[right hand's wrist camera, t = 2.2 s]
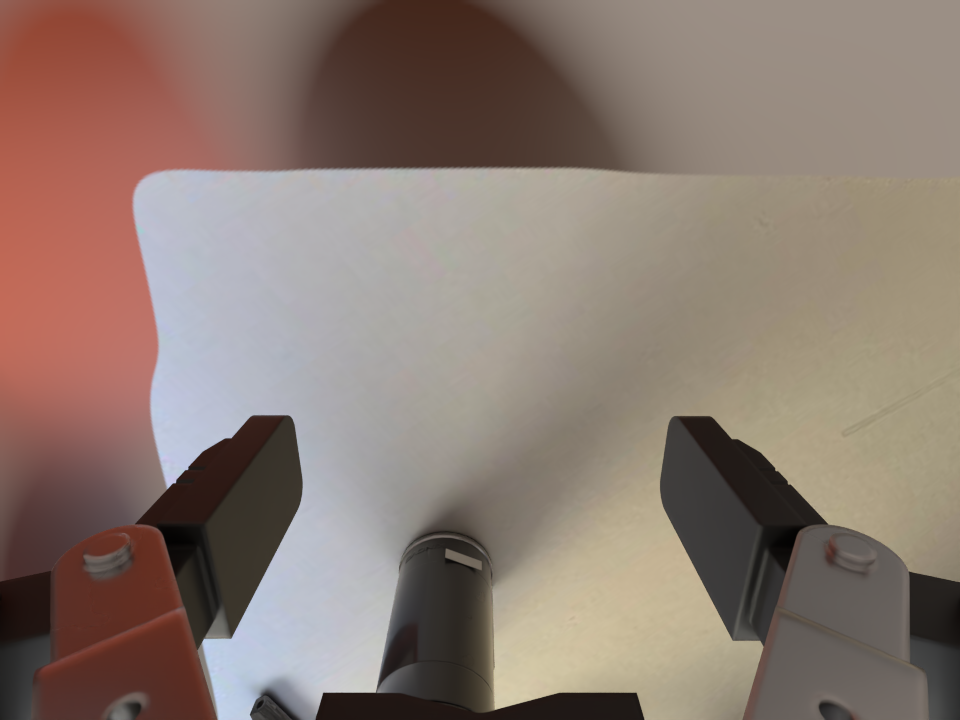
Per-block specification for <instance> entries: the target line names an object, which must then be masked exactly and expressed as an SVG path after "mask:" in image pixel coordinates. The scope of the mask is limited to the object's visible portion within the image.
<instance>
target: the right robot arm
mask: <svg viewBox="0 0 960 720" xmlns="http://www.w3.org/2000/svg"><path fill="white" fill-rule="evenodd" d="M188 468H189V469H188V470H185V471H184V472H183V473H182V475H181V476H180V477H179V478H178V479H177V480H176V483H173V484H172V485H171V486H170V487H169V488H168V489H167V491H166V492H165V493H164V494H163V495H162V496H161V497H160V498H159V499H158V500H157V501H156V502H155V503H154V504H153V505H152V507H151V508H150V509H149V510H148V511H147V512H146V513H145V514H144V515H143V516H142V517H141V518H140V519H139V520H138V521H137V523H136V524H135V525H126V526H120V527H116V528H112V529H109V530H106V531H103V532H100V533H98V534H95V535H93V536H91V537H89V538H87V539H85V540H83V541H81V542H80V543H78V544H77V545H75V546H74V547H72V548H71V549H70V550H68V551H67V552H66V553H65V554H64V555H63V556H62V557H61V558H60V559H59V560H58V561H57V562H56V564H55V565H54V567H53V569H52V571H49V572H44V573H39V574H34V575H30V576H25V577H20V578H15V579H11V580H6V581H1V582H0V720H217V717H216V713H215V710H214V707H213V703H212V700H211V696H210V693H209V689H208V686H207V683H206V679H205V676H204V672H203V669H202V666H201V662H200V659H199V655H198V652H197V650H198V648H199V647H200V645H201V643H202V641H203V640H204V639H231V638H232V636H233V634H234V632H235V630H236V628H237V626H238V624H239V623H240V621H241V619H242V617H243V615H244V613H245V611H246V609H247V607H248V605H249V603H250V601H251V599H252V597H253V595H254V593H255V591H256V590H257V588H258V586H259V584H260V582H261V580H262V578H263V576H264V574H265V572H266V570H267V568H268V566H269V564H270V562H271V560H272V559H273V557H274V555H275V553H276V551H277V549H278V547H279V545H280V543H281V541H282V539H283V537H284V535H285V533H286V531H287V529H288V527H289V526H290V524H291V522H292V520H293V518H294V516H295V514H296V512H297V510H298V508H299V505H300V502H301V497H302V488H303V482H302V473H301V466H300V459H299V452H298V445H297V439H296V432H295V426H294V422H293V419H292V418H291V417H290V416H288V415H254V416H251V417H250V418H249V419H248V420H247V421H246V422H245V424H244V425H243V426H242V427H241V428H240V429H239V430H238V432H237V433H236V434H235V435H234V436H233V437H232V438H225V439H224V440H222V441H220V442H218V443H217V444H215V445H213V446H212V447H210V448H208V449H207V450H205V451H203V452H202V453H201V454H200V455H199V456H198V457H197V459H196V460H195V461H194V462H193V463H192V464H191V465H190V466H189V467H188ZM660 493H661V499H662V504H663V507H664V509H665V511H666V513H667V515H668V517H669V519H670V521H671V523H672V525H673V527H674V529H675V531H676V533H677V534H678V536H679V538H680V540H681V542H682V544H683V546H684V548H685V550H686V552H687V554H688V556H689V557H690V559H691V561H692V563H693V565H694V567H695V569H696V571H697V573H698V575H699V577H700V579H701V580H702V582H703V584H704V586H705V588H706V590H707V592H708V594H709V596H710V598H711V600H712V602H713V603H714V605H715V607H716V609H717V611H718V613H719V615H720V617H721V619H722V621H723V623H724V625H725V626H726V628H727V630H728V632H729V634H730V636H731V638H732V640H733V641H761V643H762V644H763V646H764V648H763V652H762V655H761V659H760V662H759V665H758V669H757V672H756V676H755V679H754V683H753V686H752V689H751V693H750V696H749V700H748V703H747V707H746V710H745V713H744V717H743V720H960V582H955V581H950V580H946V579H941V578H936V577H931V576H927V575H922V574H917V573H912V572H909V571H908V569H907V567H906V565H905V564H904V562H903V561H902V560H901V559H900V558H899V557H898V556H897V555H896V554H895V553H894V552H893V551H892V550H890V549H889V548H888V547H886V546H885V545H883V544H882V543H880V542H879V541H877V540H875V539H873V538H871V537H869V536H867V535H865V534H862V533H860V532H857V531H854V530H851V529H848V528H844V527H840V526H835V525H828V523H827V522H826V521H825V520H824V519H823V518H822V517H821V516H820V515H819V514H818V513H817V512H816V511H815V510H814V509H813V508H812V507H811V505H810V504H809V503H808V502H807V501H806V500H805V499H804V498H803V497H802V496H801V495H800V494H799V493H798V492H797V491H796V490H795V489H794V488H793V486H792V485H788V481H787V480H786V479H785V478H784V477H783V476H782V475H781V474H780V473H779V472H778V471H775V467H774V466H773V465H772V464H771V463H770V462H769V461H768V460H767V459H766V458H765V457H764V456H763V455H762V454H761V453H760V452H759V451H757V450H755V449H753V448H752V447H750V446H748V445H747V444H745V443H743V442H742V441H740V440H738V439H731V438H730V437H729V435H728V434H727V433H726V432H725V431H724V430H723V429H722V428H721V426H720V425H719V424H718V423H717V422H716V421H715V420H714V419H713V418H712V417H710V416H674V417H672V419H671V420H670V422H669V426H668V431H667V438H666V445H665V452H664V458H663V465H662V472H661V479H660ZM491 580H492V564H491V560H490V558H489V555H488V554H487V552H486V551H485V549H484V548H483V547H482V546H481V545H480V544H479V543H477V542H476V541H474V540H473V539H471V538H469V537H467V536H464V535H461V534H457V533H451V532H439V533H433V534H429V535H426V536H423V537H421V538H419V539H417V540H416V541H414V542H413V543H412V544H411V545H410V546H409V547H408V548H407V549H406V550H405V552H404V554H403V556H402V558H401V562H400V567H399V577H398V583H397V588H396V592H395V597H394V602H393V608H392V613H391V618H390V623H389V628H388V633H387V638H386V644H385V649H384V654H383V659H382V664H381V669H380V675H379V680H378V685H377V690H376V693H323V696H322V699H321V703H320V706H319V710H318V713H317V716H316V720H644V716H643V713H642V710H641V706H640V703H639V699H638V696H637V693H557V694H553V695H549V696H546V697H542V698H538V699H534V700H531V701H527V702H523V703H519V704H516V705H512V706H508V707H504V708H501V709H497V710H495V702H494V634H493V599H492V587H491Z"/></svg>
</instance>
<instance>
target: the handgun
mask: <svg viewBox="0 0 960 720" xmlns="http://www.w3.org/2000/svg"><path fill="white" fill-rule="evenodd" d="M250 716H251V718H252V720H292V719H291V718H290V717H289V716H288V715H287V714H286V713H284V712H283V711H282V710H281V709H280V708H279V707H278V706H277V705H276V704H275V703H274V702H273V701H272V700H271V699H270V698H269V697H268V696H266V695H265V696H263V697H260V698H258V699H257V700H256V702H255V704H254V706H253V708H252V711H251V713H250Z"/></svg>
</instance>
